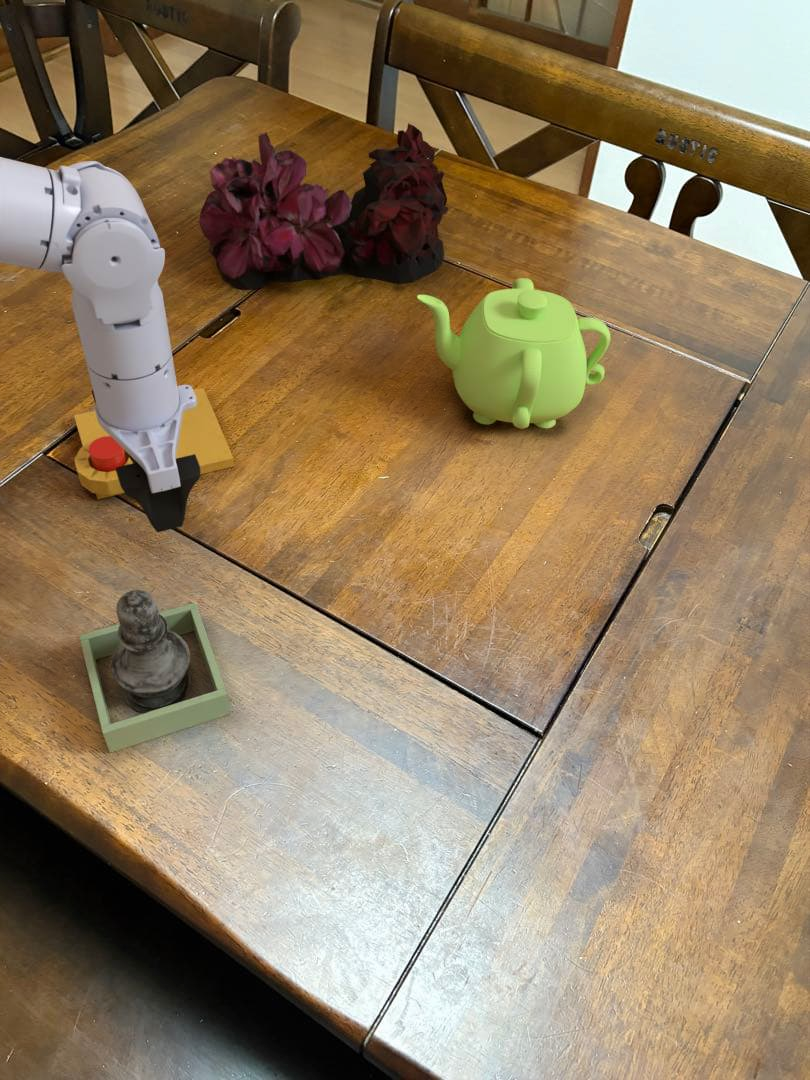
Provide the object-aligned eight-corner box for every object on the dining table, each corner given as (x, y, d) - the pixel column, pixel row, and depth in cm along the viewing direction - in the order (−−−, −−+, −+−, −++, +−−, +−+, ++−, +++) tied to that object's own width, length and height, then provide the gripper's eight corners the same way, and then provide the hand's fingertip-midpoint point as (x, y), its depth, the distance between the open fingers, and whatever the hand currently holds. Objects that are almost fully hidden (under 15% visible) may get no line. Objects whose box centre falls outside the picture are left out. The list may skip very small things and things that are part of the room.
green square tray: (109, 753, 68) (102, 733, 66) (86, 656, 73) (78, 634, 71) (230, 714, 71) (227, 693, 68) (199, 623, 76) (195, 601, 74)
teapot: (494, 471, 90) (513, 370, 81) (407, 392, 97) (415, 290, 88) (608, 411, 97) (638, 311, 88) (519, 341, 104) (538, 242, 95)
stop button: (95, 476, 83) (92, 462, 82) (89, 454, 85) (85, 440, 83) (129, 468, 84) (125, 454, 82) (122, 446, 86) (119, 433, 84)
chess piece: (121, 724, 70) (90, 634, 61) (116, 661, 73) (85, 566, 64) (199, 708, 71) (180, 617, 62) (190, 647, 74) (171, 552, 65)
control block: (88, 510, 84) (81, 487, 81) (65, 426, 91) (58, 403, 88) (237, 473, 88) (235, 451, 85) (204, 396, 95) (201, 373, 93)
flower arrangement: (413, 198, 124) (422, 84, 112) (479, 277, 112) (496, 159, 101) (186, 236, 114) (170, 116, 103) (232, 327, 103) (220, 203, 91)
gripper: (215, 407, 59) (232, 544, 69) (162, 285, 68) (184, 422, 78) (104, 432, 57) (138, 569, 67) (64, 302, 66) (100, 441, 76)
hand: (157, 492), depth 72 cm, fingers open, 7 cm apart
